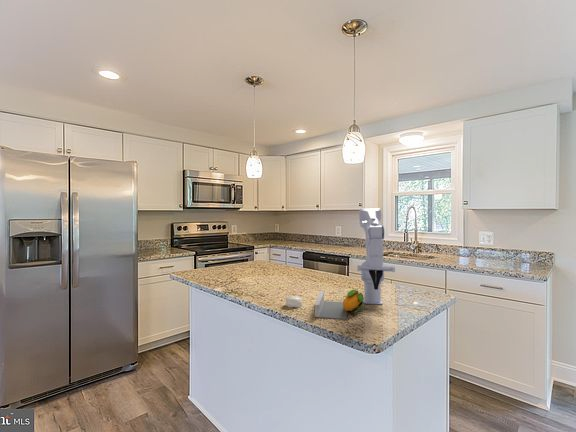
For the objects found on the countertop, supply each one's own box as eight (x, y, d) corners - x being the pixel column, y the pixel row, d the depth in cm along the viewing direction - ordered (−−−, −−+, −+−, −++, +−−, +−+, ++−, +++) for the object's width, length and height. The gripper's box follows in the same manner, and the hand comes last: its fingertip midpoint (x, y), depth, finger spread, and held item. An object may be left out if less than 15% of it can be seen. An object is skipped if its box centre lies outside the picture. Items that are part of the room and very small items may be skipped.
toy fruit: (366, 287, 132) (356, 298, 114) (366, 305, 132) (356, 319, 113) (349, 286, 135) (337, 296, 117) (349, 303, 135) (337, 316, 116)
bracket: (320, 301, 138) (320, 290, 138) (347, 303, 135) (347, 291, 135) (314, 317, 116) (314, 304, 116) (346, 319, 114) (346, 306, 114)
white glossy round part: (287, 303, 136) (287, 295, 136) (302, 304, 135) (302, 296, 135) (284, 307, 130) (284, 299, 130) (300, 308, 128) (300, 300, 128)
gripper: (357, 256, 120) (357, 290, 120) (395, 257, 117) (396, 292, 117) (357, 254, 127) (357, 286, 127) (393, 254, 124) (393, 287, 124)
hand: (375, 289), depth 122 cm, fingers closed
